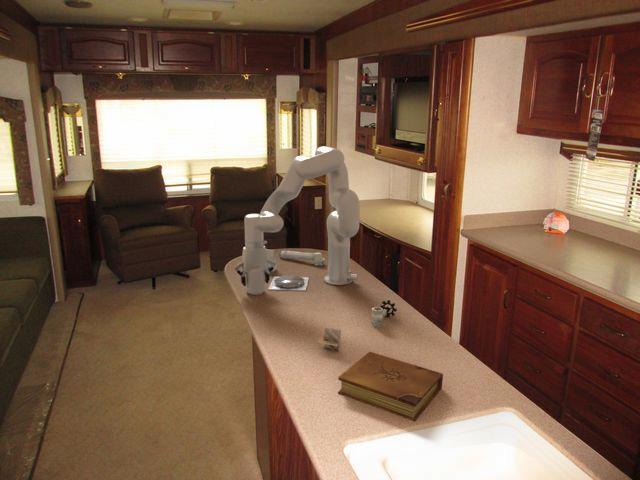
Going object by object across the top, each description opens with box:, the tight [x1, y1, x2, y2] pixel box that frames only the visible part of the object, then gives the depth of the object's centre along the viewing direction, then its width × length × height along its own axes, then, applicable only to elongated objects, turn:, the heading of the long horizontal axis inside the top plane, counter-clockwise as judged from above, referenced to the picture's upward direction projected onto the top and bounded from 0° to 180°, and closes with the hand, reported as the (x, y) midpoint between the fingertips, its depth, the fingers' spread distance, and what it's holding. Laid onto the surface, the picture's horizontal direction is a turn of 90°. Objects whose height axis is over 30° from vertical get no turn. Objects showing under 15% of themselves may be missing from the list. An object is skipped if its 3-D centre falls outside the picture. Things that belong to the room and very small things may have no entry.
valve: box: [371, 299, 398, 328], centre depth 189 cm, size 7×7×12 cm
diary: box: [337, 351, 444, 422], centre depth 145 cm, size 23×19×6 cm
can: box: [245, 267, 266, 296], centre depth 217 cm, size 8×8×12 cm
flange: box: [267, 275, 310, 292], centre depth 228 cm, size 16×16×2 cm
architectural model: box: [316, 326, 342, 353], centre depth 168 cm, size 3×7×7 cm, turn 70°
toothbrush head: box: [278, 250, 326, 267], centre depth 259 cm, size 5×7×25 cm
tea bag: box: [264, 248, 277, 273], centre depth 245 cm, size 4×7×10 cm, turn 66°
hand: (255, 283), depth 217 cm, fingers open, 9 cm apart
